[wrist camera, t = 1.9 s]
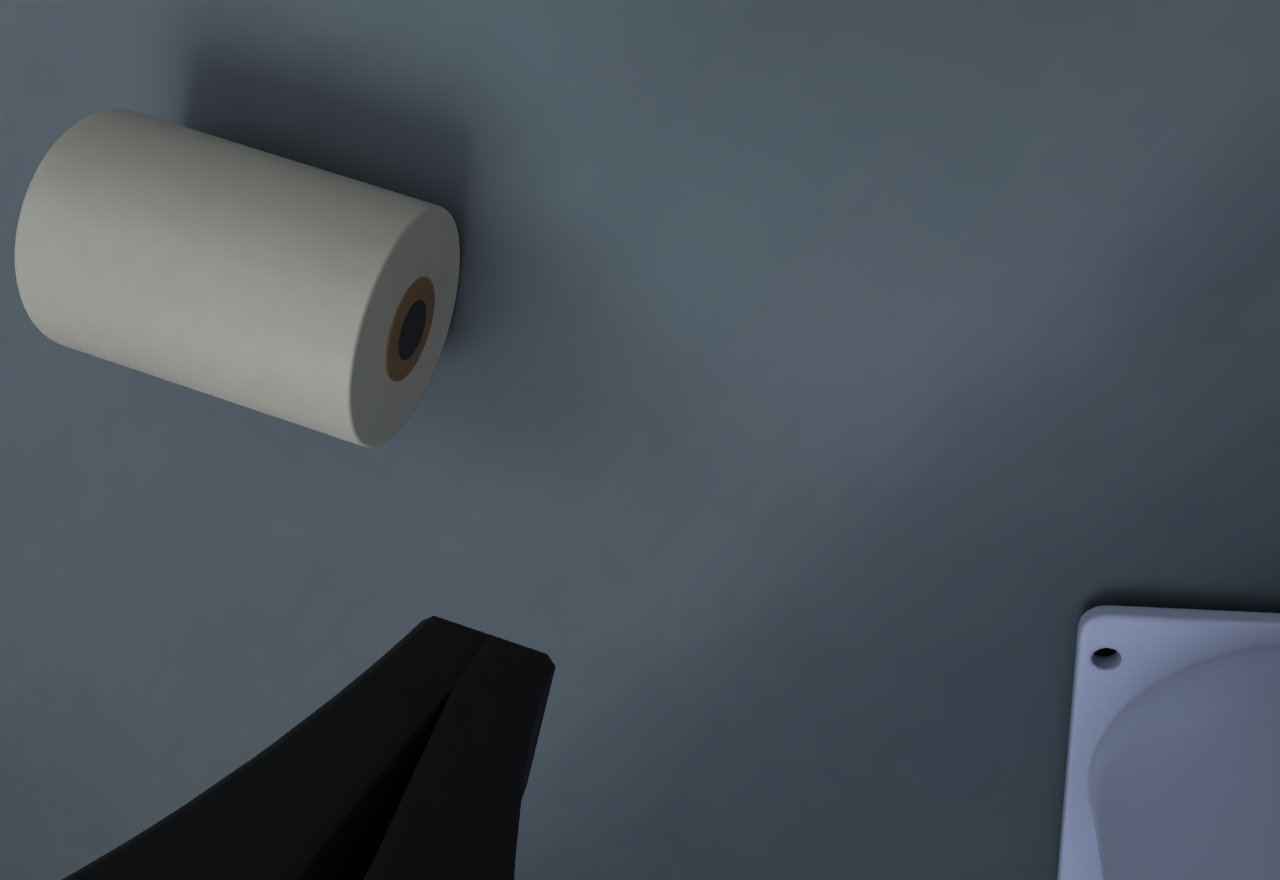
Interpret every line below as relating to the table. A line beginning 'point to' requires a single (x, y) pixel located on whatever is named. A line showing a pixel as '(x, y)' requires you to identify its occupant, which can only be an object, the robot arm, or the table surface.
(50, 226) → the paper roll
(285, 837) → the robot arm
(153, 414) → the table surface
